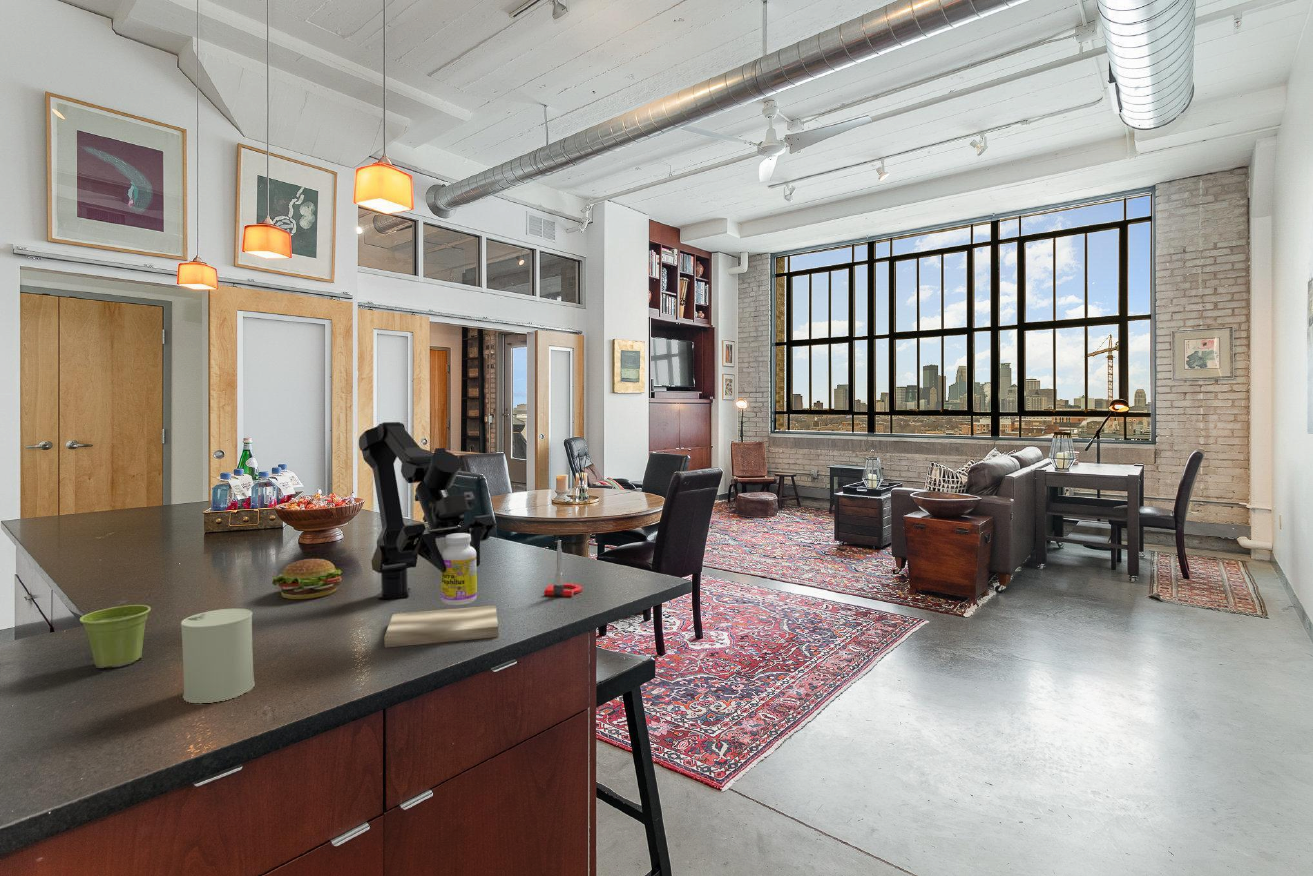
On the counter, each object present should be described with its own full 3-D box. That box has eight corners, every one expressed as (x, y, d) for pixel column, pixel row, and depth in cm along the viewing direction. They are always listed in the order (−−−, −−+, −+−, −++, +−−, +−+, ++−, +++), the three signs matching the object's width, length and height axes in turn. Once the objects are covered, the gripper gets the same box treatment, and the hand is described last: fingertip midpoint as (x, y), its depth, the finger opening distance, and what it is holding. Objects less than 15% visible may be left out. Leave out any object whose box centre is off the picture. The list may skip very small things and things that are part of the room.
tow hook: (552, 587, 162) (540, 596, 153) (552, 534, 162) (540, 540, 153) (585, 589, 161) (575, 598, 152) (586, 535, 161) (576, 541, 152)
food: (310, 583, 166) (309, 551, 166) (353, 588, 161) (352, 556, 161) (259, 598, 153) (258, 563, 153) (305, 604, 148) (304, 569, 148)
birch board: (393, 623, 134) (393, 613, 134) (495, 614, 139) (495, 605, 139) (384, 647, 121) (384, 636, 120) (498, 636, 126) (498, 626, 126)
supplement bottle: (434, 604, 127) (432, 538, 127) (452, 594, 134) (451, 531, 133) (466, 607, 126) (464, 539, 125) (483, 597, 132) (482, 532, 131)
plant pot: (95, 678, 107) (92, 625, 107) (72, 666, 112) (70, 615, 112) (162, 659, 115) (160, 610, 115) (138, 649, 120) (136, 602, 120)
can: (205, 680, 106) (203, 606, 106) (266, 678, 107) (263, 604, 107) (168, 706, 97) (165, 624, 97) (235, 703, 98) (232, 622, 97)
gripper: (400, 483, 125) (426, 551, 118) (491, 475, 138) (519, 537, 130) (386, 519, 131) (409, 586, 124) (474, 509, 144) (499, 569, 136)
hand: (461, 568), depth 128 cm, fingers closed on supplement bottle, 7 cm apart
